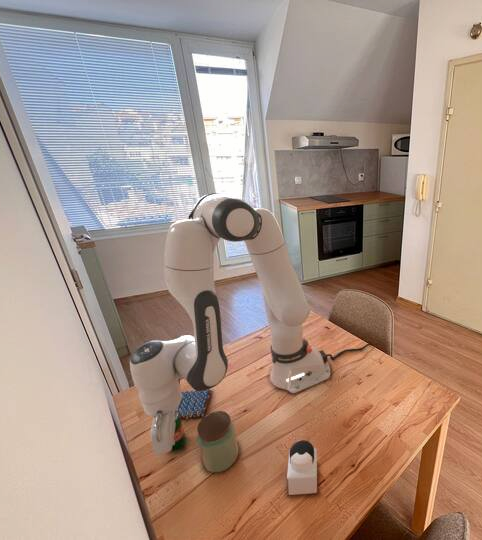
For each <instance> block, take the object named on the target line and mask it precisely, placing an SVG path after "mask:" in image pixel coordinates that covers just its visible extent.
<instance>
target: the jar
mask: <svg viewBox="0 0 482 540" xmlns="http://www.w3.org/2000/svg"><path fill="white" fill-rule="evenodd" d="M234 425H235V424H234V422H233V420H232V419H231V416H230V414H229V413H228V412H226V411H224V410H215V411H211V412H210V413H208V414H206V415H204V416H203V417H202V419H201V420H200V421H199V422H198V425H197V428H196V431H197V437H196V438H197V443H198V446H199V447H198V448H199V451H200V455H201V459H202V463H203V465H204V468H205V469H206V470H207V471H208V472H210V473H221V472H223V471H226V470H227V469H229V468H230V467H231V466H232V465H233V464H234V463H235V462H236V460H237V458H238V455H239V446H238V440H237V436H236V431H235V426H234Z"/></svg>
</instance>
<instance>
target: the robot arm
mask: <svg viewBox="0 0 482 540" xmlns="http://www.w3.org/2000/svg"><path fill="white" fill-rule="evenodd" d="M221 239H223V240H225V241H227V242H233V243H236V242H244V243H245V247H246V250H247V252H248V256H249V257H250V261H251V262H252V265H253V269H254V270H255V273H256V276H257V277H258V279H259V282H260V285H261V292H262V296H263V302H264V303H263V304H264V308H265V313H266V319H267V322H268V326H269V332H270V359H271V361H272V362H271V369H270V374H269V380H270V383H271V384H272V385H273V386H274V387H276V388H278V389H281V390H286V391H288V392H289V393H290V394H297V393H299V392H301V391H304V390H306V389H308V388H310V387H313V386H315V385H317V384H319V383H321V382H324V381H326V380H328V379H330V377H331V368H330V367H331V366H330V364H329V362H328V357H330V359H331V360H336V359H337V358H338V357H339V356H341V355H342V354H344V353H347V352H357V351H358V352H359V351H361V350H364V349H366V348H367V347H368V346H373V345H374V344H373V343H371V342H369V343H366V344H365V345H364V346H362V347H359V348H349V349H348V348H347V349H343V350H342V351H340V352H339V353H338V354H337V355H335V356H333V355H332V354H331V353H326V352H325V351H324V350H323V349H322V350H319V349H317V348H316V347H314V346H311V345H309V342H308V340H307V339H306V338H305V336H304V334H303V324H304V323H305V322H306V321H307V320H308V318H309V316H310V314H311V307H310V304H309V301H308V299H307V296H306V294H305V292H304V289H303V286H302V283H301V282H300V278H299V277H298V274H297V272H296V270H295V267H294V266H293V263H292V260H291V257H290V254H289V250H288V247H287V244H286V240H285V237H284V234H283V232H282V229H281V227H280V225H279V223H278V220H277V218H276V217H275V215H274V214H273V212H272V211H271V210H269V209H266V208H263V207H259V208H258V207H257V208H254V207H252V205H250V204H249V203H248V202H247V201H245V200H243V199H241V198H237V197H236V196H232V195H229V194H223V193H222V194H220V193H217V192H215V193H214V192H213V193H207V194H205V195H203V196H201V197H200V198H199V199H198V200H197V202H196V203H195V205H194V206H193V209H192V210H191V212H190V213H189V214H188V219H182V220H177V221H176V222H174V223H172V224H171V225H170V226H169V228H168V230H167V234H166V239H165V246H164V254H163V261H164V262H163V275H164V280H165V284H166V288H167V291H168V293H169V294H170V295H171V296H172V297H173V298H174V299H175V300H176V301H177V303H179V304H180V305H181V307H182V308H183V310H184V311H186V313H187V314H188V316H189V318H190V320H191V323H192V326H193V335H192V334H183V335H180V336H178V337H176V338H175V339H170V340H159V339H155V340H149V341H147V342H145V343H143V344H141V345H140V346H138V347H137V348H136V349H135V350H133V352H132V354H131V356H130V359H129V370H130V374H131V378H132V382H133V385H134V387H135V388H136V389H137V390H138V398H139V401H140V403H141V407H142V410H143V412H144V414H145V415H147V416H149V417H153V418H152V422H151V427H150V433H149V434H150V442H151V446H152V451H153V453H154V455H156V456H160V455H164V454H167V453H169V452H172V451H171V450H172V446H173V445H174V444H175V436H174V433H175V427H176V422H175V417H174V416H175V410H176V411H178V407H179V403H180V401H181V399H182V393H181V392H182V388H181V378H182V379H184V380H185V381H186V382H187V384H189V386H190V387H191V388H192V389H193V391H196V390H197V391H203V390H208V389H210V390H211V389H213V388H215V387H217V386H218V385H219V384H220V383H221V382H222V381H223V380H224V378H225V377H226V374H227V372H228V367H229V360H228V358H227V355H226V354H225V353H226V352H225V351H224V346H223V345H224V344H223V332H222V318H221V308H220V303H219V298H218V295H217V291H216V286H215V274H214V265H215V263H214V262H215V261H214V260H215V259H214V253H215V249H216V247H217V245H218V243H219V242H220V241H221Z"/></svg>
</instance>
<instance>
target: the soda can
mask: <svg viewBox="0 0 482 540" xmlns="http://www.w3.org/2000/svg"><path fill="white" fill-rule="evenodd" d="M174 417H175V422H176V427H175V433H174V436H175V444H174V445H173V446H172V450H171V451H170V452H177V451H179V450H180V449H181V448H183V446H185V444H186V442H187V436H186V433H185V430H184V429H185V428H184V426H183V423H182V419H181V418H180V416H179V413H178V411H176V410H175V416H174Z"/></svg>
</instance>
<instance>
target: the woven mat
mask: <svg viewBox="0 0 482 540" xmlns="http://www.w3.org/2000/svg"><path fill="white" fill-rule="evenodd" d="M181 393H182V399H181V401H180V403H179V407H178V413H179V416H180V419H181V418H182V419H186V420H188V419H189V418H192V417H193V418H196V417H200V416H201V417H202V418H204V417H205V412H206V410H207V406H208V403H209V400H210V399H211V397H210V396H211V395H212V390H211V389H208V390H203V391H197V390H189V391H187V390H186V391H185V390H184V391H181Z"/></svg>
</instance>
